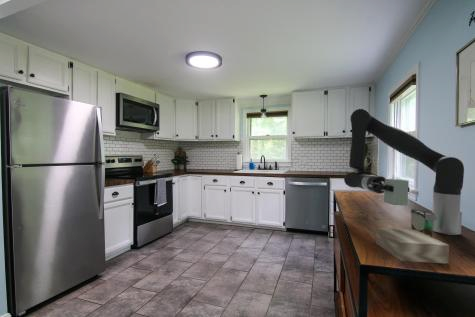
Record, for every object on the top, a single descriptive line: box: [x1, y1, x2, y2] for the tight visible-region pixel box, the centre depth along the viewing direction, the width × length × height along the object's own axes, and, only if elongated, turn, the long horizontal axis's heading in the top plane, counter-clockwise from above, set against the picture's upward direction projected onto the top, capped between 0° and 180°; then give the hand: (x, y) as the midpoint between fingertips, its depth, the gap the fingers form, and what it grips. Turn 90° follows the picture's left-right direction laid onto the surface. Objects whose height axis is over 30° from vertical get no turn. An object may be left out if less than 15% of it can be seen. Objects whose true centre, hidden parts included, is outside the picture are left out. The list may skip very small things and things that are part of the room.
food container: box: [410, 208, 437, 238], centre depth 102 cm, size 12×6×10 cm, turn 168°
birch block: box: [375, 227, 450, 264], centre depth 83 cm, size 14×15×6 cm
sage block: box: [383, 178, 410, 206], centre depth 97 cm, size 6×6×10 cm
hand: (400, 189), depth 94 cm, fingers closed on sage block, 5 cm apart
